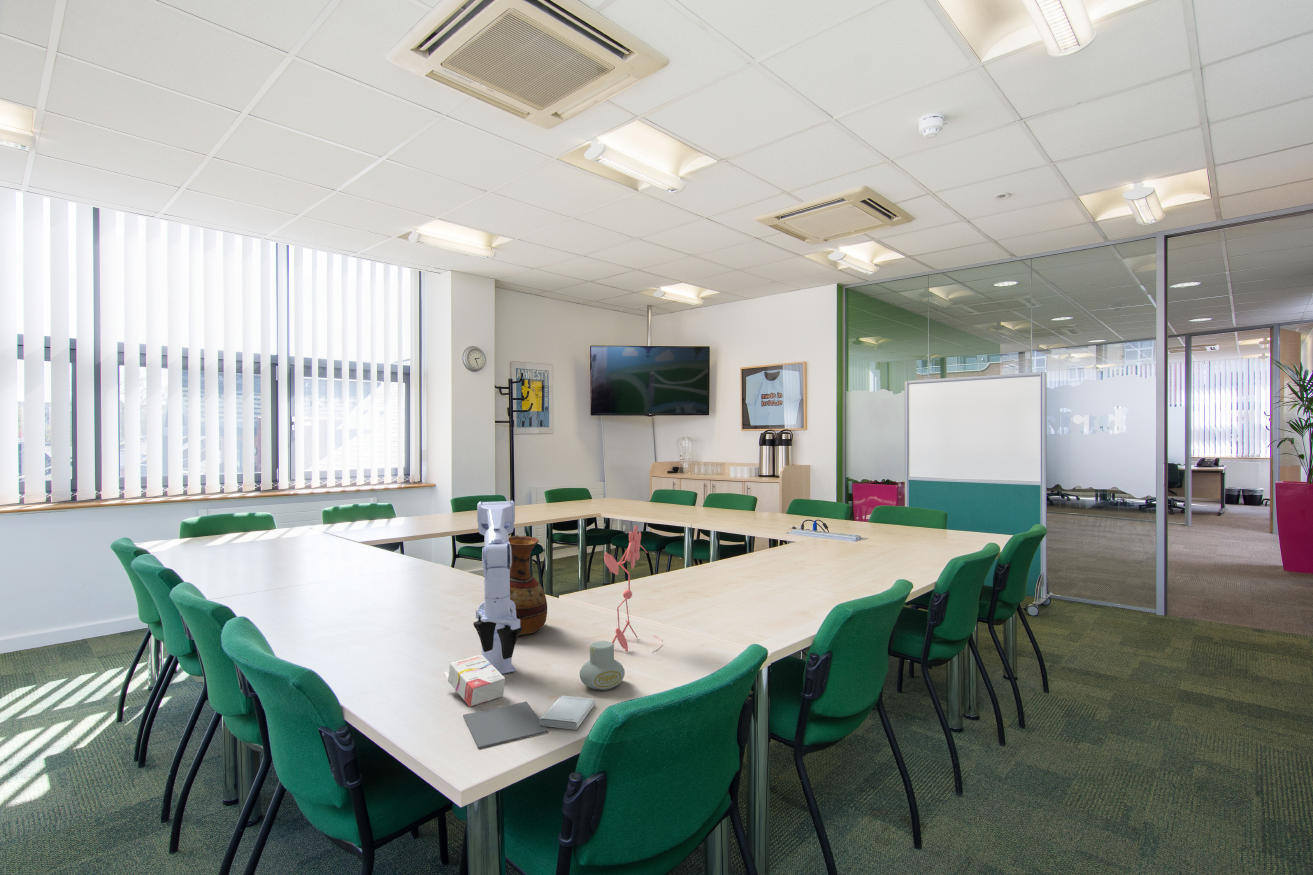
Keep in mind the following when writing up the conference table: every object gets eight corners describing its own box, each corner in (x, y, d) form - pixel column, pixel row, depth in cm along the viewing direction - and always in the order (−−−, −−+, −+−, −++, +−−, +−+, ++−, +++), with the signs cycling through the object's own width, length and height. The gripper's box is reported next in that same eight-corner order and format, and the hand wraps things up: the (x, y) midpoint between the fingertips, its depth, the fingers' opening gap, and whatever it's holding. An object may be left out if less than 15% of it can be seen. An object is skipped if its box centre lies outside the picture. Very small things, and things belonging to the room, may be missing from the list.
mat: (463, 716, 131) (463, 714, 131) (526, 702, 138) (526, 701, 138) (478, 748, 117) (478, 746, 117) (548, 732, 124) (548, 730, 124)
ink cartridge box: (472, 687, 135) (443, 656, 145) (469, 707, 136) (441, 675, 146) (506, 676, 141) (476, 647, 151) (503, 696, 142) (473, 665, 152)
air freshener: (585, 695, 142) (585, 652, 142) (575, 683, 149) (575, 642, 149) (629, 687, 146) (628, 646, 146) (617, 676, 154) (617, 636, 154)
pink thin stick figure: (596, 658, 166) (597, 530, 166) (624, 630, 191) (626, 519, 191) (650, 664, 162) (651, 533, 162) (672, 635, 187) (673, 521, 187)
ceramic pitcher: (502, 645, 178) (501, 543, 179) (472, 630, 193) (472, 536, 194) (559, 631, 191) (558, 536, 191) (527, 618, 206) (526, 529, 207)
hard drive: (577, 722, 124) (594, 697, 136) (539, 717, 126) (560, 694, 138) (576, 730, 124) (594, 705, 136) (539, 725, 126) (560, 701, 138)
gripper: (464, 594, 143) (464, 652, 143) (501, 604, 133) (502, 666, 133) (489, 588, 148) (490, 644, 148) (527, 597, 139) (527, 657, 139)
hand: (497, 654), depth 141 cm, fingers open, 7 cm apart
